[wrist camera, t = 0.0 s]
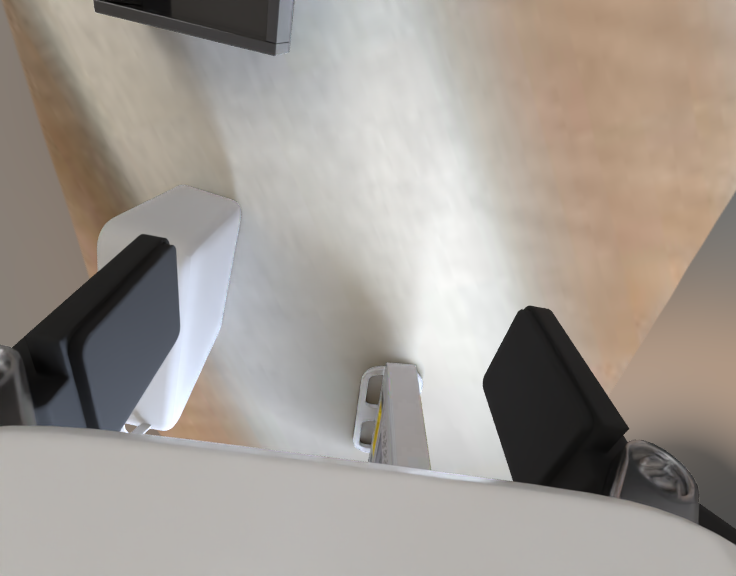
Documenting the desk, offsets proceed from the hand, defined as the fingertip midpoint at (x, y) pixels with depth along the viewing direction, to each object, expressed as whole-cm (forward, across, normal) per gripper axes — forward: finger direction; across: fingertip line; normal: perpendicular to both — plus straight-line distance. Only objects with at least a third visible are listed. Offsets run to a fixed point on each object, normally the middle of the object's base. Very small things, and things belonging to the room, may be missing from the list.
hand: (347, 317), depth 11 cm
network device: (+31, -12, +40) cm, 52 cm away
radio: (+31, +15, +19) cm, 40 cm away
